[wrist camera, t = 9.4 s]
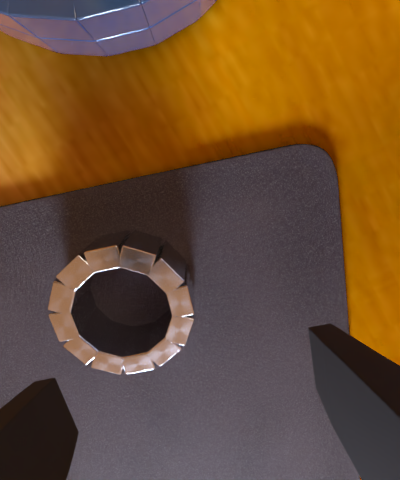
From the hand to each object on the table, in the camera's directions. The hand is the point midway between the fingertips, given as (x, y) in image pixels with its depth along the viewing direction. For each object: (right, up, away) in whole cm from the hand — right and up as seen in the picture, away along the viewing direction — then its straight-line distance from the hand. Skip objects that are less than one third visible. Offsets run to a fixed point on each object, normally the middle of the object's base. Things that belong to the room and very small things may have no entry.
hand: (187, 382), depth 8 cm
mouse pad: (-1, -5, +9) cm, 11 cm away
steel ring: (-3, +1, +7) cm, 8 cm away
